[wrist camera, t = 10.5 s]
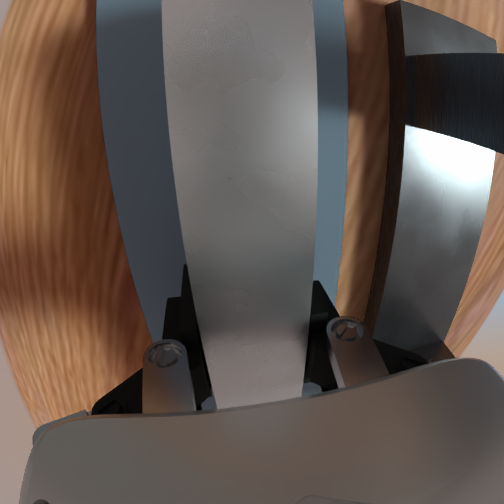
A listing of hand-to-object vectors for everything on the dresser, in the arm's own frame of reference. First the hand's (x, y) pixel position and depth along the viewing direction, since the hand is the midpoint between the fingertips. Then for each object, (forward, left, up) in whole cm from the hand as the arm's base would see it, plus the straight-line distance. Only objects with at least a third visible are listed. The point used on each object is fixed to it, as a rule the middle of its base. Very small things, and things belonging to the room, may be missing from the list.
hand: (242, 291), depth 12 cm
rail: (0, 0, +2) cm, 2 cm away
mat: (0, 0, -1) cm, 1 cm away
